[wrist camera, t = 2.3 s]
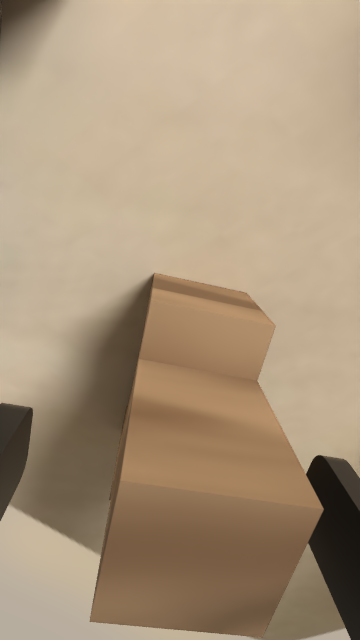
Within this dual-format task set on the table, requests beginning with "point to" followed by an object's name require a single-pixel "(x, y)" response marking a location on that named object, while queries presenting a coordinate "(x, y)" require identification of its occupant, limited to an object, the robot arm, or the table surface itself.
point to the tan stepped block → (202, 475)
